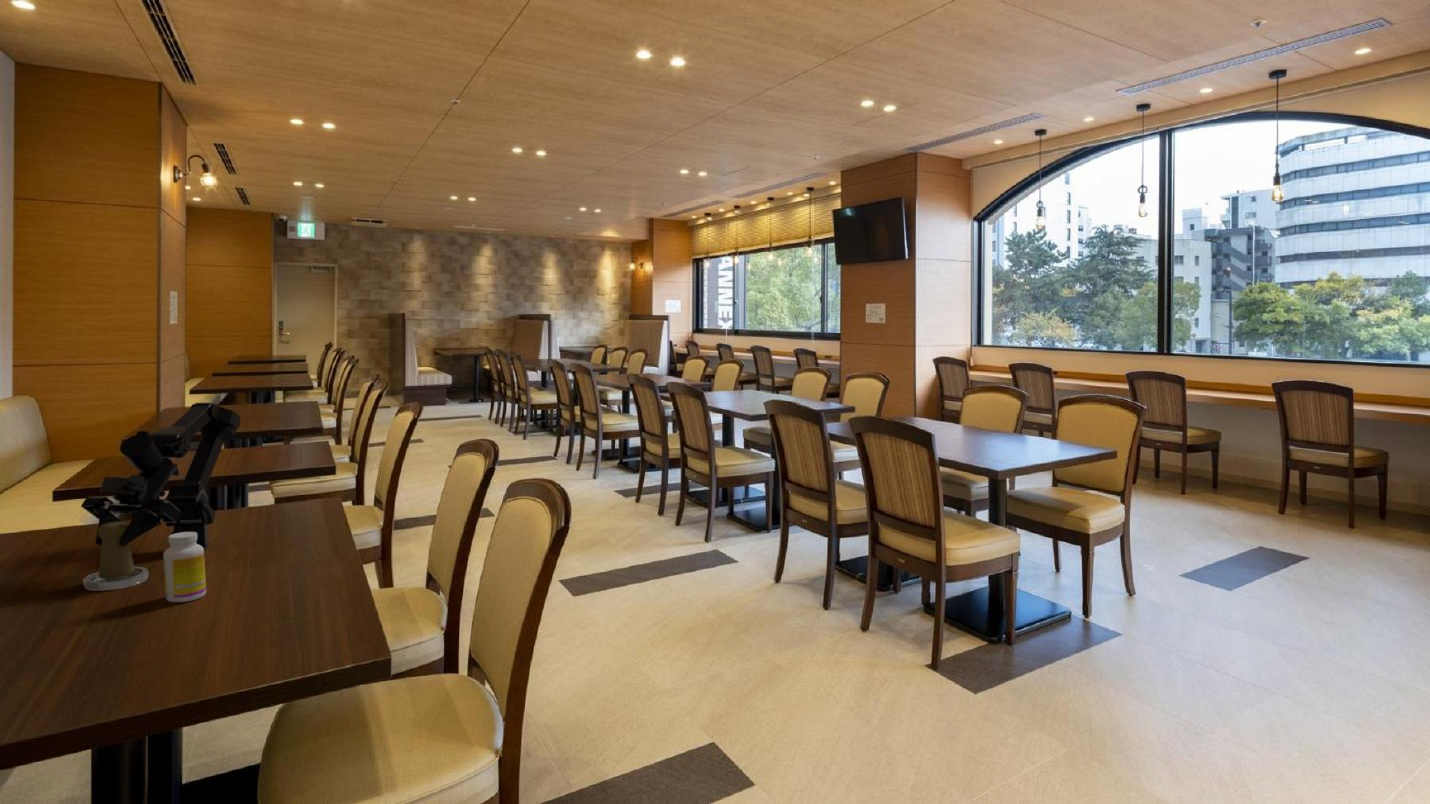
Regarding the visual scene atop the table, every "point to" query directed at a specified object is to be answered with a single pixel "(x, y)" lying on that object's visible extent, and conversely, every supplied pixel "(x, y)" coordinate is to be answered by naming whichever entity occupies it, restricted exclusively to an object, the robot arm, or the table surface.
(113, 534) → the cork
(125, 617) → the table surface
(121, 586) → the ring seat
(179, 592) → the supplement bottle
